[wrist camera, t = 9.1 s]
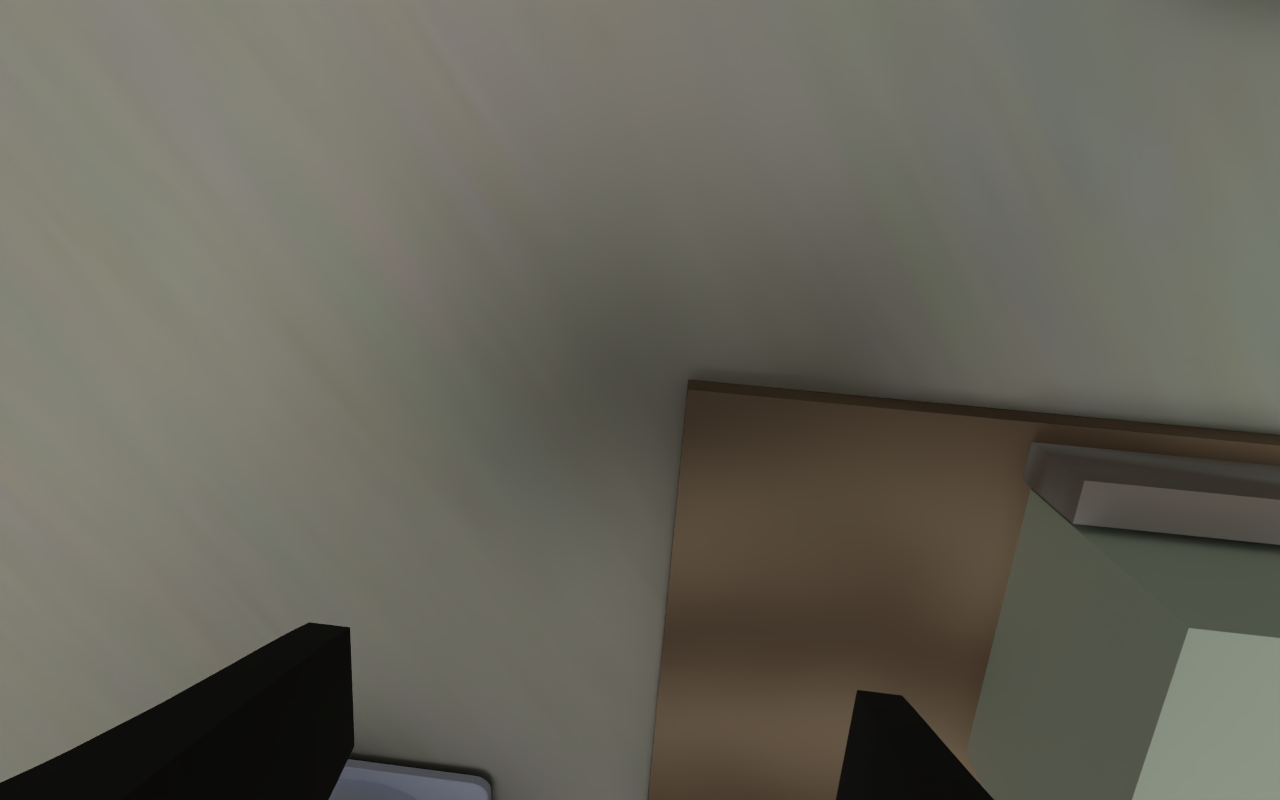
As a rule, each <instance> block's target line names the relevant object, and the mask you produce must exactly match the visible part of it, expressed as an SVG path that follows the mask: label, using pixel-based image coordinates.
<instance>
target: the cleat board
mask: <svg viewBox="0 0 1280 800" xmlns="http://www.w3.org/2000/svg"><path fill="white" fill-rule="evenodd" d="M1031 489H1033V490H1035V491H1036V492H1037V493H1038V494H1039V495H1041V496H1042V497H1043V498H1044V499H1045V500H1046V501H1048V502H1049V503H1050V504H1051V505H1052V506H1053V507H1054V508H1056V509H1057V510H1058V511H1059V512H1060V513H1061V514H1062V515H1064V516H1065V517H1066V518H1067V519H1068V520H1069V521H1071V522H1072V523H1073V524H1081V525H1091V526H1101V527H1110V528H1120V529H1130V530H1137V531H1141V532H1151V533H1160V534H1170V535H1180V536H1190V537H1199V538H1209V539H1212V538H1217V539H1227V540H1237V541H1246V542H1256V543H1266V544H1276V545H1280V435H1269V434H1259V433H1248V432H1237V431H1227V430H1216V429H1205V428H1195V427H1184V426H1173V425H1163V424H1152V423H1141V422H1131V421H1120V420H1109V419H1099V418H1088V417H1077V416H1067V415H1056V414H1045V413H1035V412H1024V411H1013V410H1003V409H992V408H981V407H971V406H960V405H949V404H939V403H928V402H917V401H907V400H896V399H885V398H875V397H864V396H853V395H843V394H832V393H822V392H811V391H800V390H790V389H779V388H768V387H758V386H747V385H736V384H726V383H715V382H704V381H694V380H688V391H687V401H686V411H685V422H684V432H683V442H682V452H681V463H680V473H679V483H678V494H677V504H676V514H675V525H674V535H673V545H672V556H671V566H670V576H669V586H668V597H667V607H666V617H665V628H664V638H663V648H662V659H661V669H660V679H659V690H658V700H657V710H656V721H655V731H654V741H653V751H652V762H651V772H650V782H649V793H648V800H836V796H837V791H838V786H839V780H840V775H841V770H842V765H843V760H844V755H845V749H846V744H847V739H848V734H849V729H850V724H851V718H852V713H853V708H854V703H855V698H856V693H857V690H862V691H871V692H879V693H887V694H895V695H902V696H903V697H904V698H905V699H906V700H907V701H908V702H909V703H910V705H911V706H912V707H913V708H914V709H915V710H916V711H917V712H918V714H919V715H920V716H921V717H922V718H923V719H924V720H925V722H926V723H927V724H928V725H929V726H930V727H931V729H932V730H933V731H934V732H935V733H936V734H937V735H938V737H939V738H940V739H941V740H942V741H943V742H944V744H945V745H946V746H947V747H948V748H949V749H950V750H951V752H952V753H953V754H954V755H955V756H956V757H957V758H958V760H959V761H960V762H961V763H962V764H963V765H964V766H965V768H966V769H967V770H968V771H969V772H970V773H971V774H972V776H973V777H974V778H975V779H976V780H977V781H978V782H979V783H980V781H979V779H978V777H977V775H976V772H975V770H974V768H973V766H972V764H971V762H970V760H969V758H968V756H967V754H966V750H967V746H968V742H969V738H970V734H971V730H972V726H973V722H974V718H975V714H976V710H977V705H978V701H979V697H980V693H981V689H982V685H983V681H984V677H985V673H986V669H987V665H988V661H989V657H990V653H991V648H992V644H993V640H994V636H995V632H996V628H997V624H998V620H999V616H1000V612H1001V608H1002V604H1003V600H1004V596H1005V591H1006V587H1007V583H1008V579H1009V575H1010V571H1011V567H1012V563H1013V559H1014V555H1015V551H1016V547H1017V543H1018V538H1019V534H1020V530H1021V526H1022V522H1023V518H1024V514H1025V510H1026V506H1027V502H1028V498H1029V494H1030V490H1031ZM980 784H981V783H980ZM981 786H982V785H981Z"/></svg>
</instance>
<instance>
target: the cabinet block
mask: <svg viewBox="0 0 1280 800" xmlns="http://www.w3.org/2000/svg"><path fill="white" fill-rule="evenodd" d="M966 754H967V756H968V758H969V760H970V762H971V764H972V766H973V768H974V770H975V772H976V775H977V777H978V779H979V781H980V783H981V785H982V787H983V788H984V789H985V790H986V791H987V792H988V793H989V794H990V796H991V797H992V798H993V799H994V800H1280V545H1276V544H1266V543H1256V542H1246V541H1237V540H1227V539H1217V538H1212V539H1209V538H1199V537H1190V536H1180V535H1170V534H1160V533H1151V532H1141V531H1137V530H1130V529H1120V528H1110V527H1101V526H1091V525H1081V524H1073V523H1072V522H1071V521H1069V520H1068V519H1067V518H1066V517H1065V516H1064V515H1062V514H1061V513H1060V512H1059V511H1058V510H1057V509H1056V508H1054V507H1053V506H1052V505H1051V504H1050V503H1049V502H1048V501H1046V500H1045V499H1044V498H1043V497H1042V496H1041V495H1039V494H1038V493H1037V492H1036V491H1035V490H1033V489H1031V490H1030V494H1029V498H1028V502H1027V506H1026V510H1025V514H1024V518H1023V522H1022V526H1021V530H1020V534H1019V538H1018V543H1017V547H1016V551H1015V555H1014V559H1013V563H1012V567H1011V571H1010V575H1009V579H1008V583H1007V587H1006V591H1005V596H1004V600H1003V604H1002V608H1001V612H1000V616H999V620H998V624H997V628H996V632H995V636H994V640H993V644H992V648H991V653H990V657H989V661H988V665H987V669H986V673H985V677H984V681H983V685H982V689H981V693H980V697H979V701H978V705H977V710H976V714H975V718H974V722H973V726H972V730H971V734H970V738H969V742H968V746H967V750H966Z"/></svg>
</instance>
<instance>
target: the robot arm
mask: <svg viewBox="0 0 1280 800" xmlns="http://www.w3.org/2000/svg"><path fill="white" fill-rule="evenodd" d="M353 747H354V722H353V696H352V669H351V643H350V627H342V626H334V625H326V624H317V623H307V624H305V625H303V626H301V627H299V628H297V629H295V630H293V631H291V632H289V633H287V634H285V635H283V636H281V637H280V638H278V639H276V640H274V641H272V642H270V643H269V644H267V645H265V646H263V647H261V648H260V649H258V650H256V651H254V652H253V653H251V654H249V655H247V656H245V657H244V658H242V659H240V660H238V661H236V662H235V663H233V664H231V665H229V666H228V667H226V668H224V669H222V670H220V671H219V672H217V673H215V674H213V675H211V676H210V677H208V678H206V679H204V680H202V681H201V682H199V683H197V684H195V685H193V686H192V687H190V688H188V689H186V690H184V691H183V692H181V693H179V694H177V695H175V696H174V697H172V698H170V699H168V700H166V701H164V702H163V703H161V704H159V705H157V706H155V707H153V708H151V709H149V710H147V711H145V712H144V713H142V714H140V715H138V716H136V717H134V718H132V719H130V720H128V721H126V722H124V723H122V724H120V725H118V726H116V727H114V728H112V729H110V730H108V731H107V732H105V733H103V734H101V735H99V736H97V737H95V738H93V739H91V740H89V741H87V742H85V743H83V744H81V745H79V746H77V747H75V748H73V749H71V750H70V751H68V752H65V753H63V754H61V755H59V756H57V757H55V758H53V759H51V760H49V761H47V762H45V763H43V764H40V765H38V766H36V767H34V768H32V769H30V770H27V771H25V772H23V773H21V774H19V775H17V776H15V777H12V778H10V779H8V780H6V781H3V782H1V783H0V800H491V787H490V785H489V783H488V782H487V781H486V780H485V779H483V778H482V777H478V776H473V775H465V774H458V773H450V772H442V771H435V770H427V769H419V768H412V767H404V766H396V765H389V764H381V763H373V762H366V761H358V760H351V759H348V758H349V756H350V754H351V752H352V750H353ZM836 800H994V799H993V798H992V797H991V796H990V794H989V793H988V792H987V791H986V790H985V789H984V788H983V787H982V786H981V784H980V783H979V782H978V781H977V780H976V779H975V778H974V777H973V776H972V774H971V773H970V772H969V771H968V770H967V769H966V768H965V766H964V765H963V764H962V763H961V762H960V761H959V760H958V758H957V757H956V756H955V755H954V754H953V753H952V752H951V750H950V749H949V748H948V747H947V746H946V745H945V744H944V742H943V741H942V740H941V739H940V738H939V737H938V735H937V734H936V733H935V732H934V731H933V730H932V729H931V727H930V726H929V725H928V724H927V723H926V722H925V720H924V719H923V718H922V717H921V716H920V715H919V714H918V712H917V711H916V710H915V709H914V708H913V707H912V706H911V705H910V703H909V702H908V701H907V700H906V699H905V698H904V697H903V696H902V695H895V694H887V693H879V692H871V691H862V690H857V693H856V698H855V703H854V708H853V713H852V718H851V724H850V729H849V734H848V739H847V744H846V749H845V755H844V760H843V765H842V770H841V775H840V780H839V786H838V791H837V796H836Z"/></svg>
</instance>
